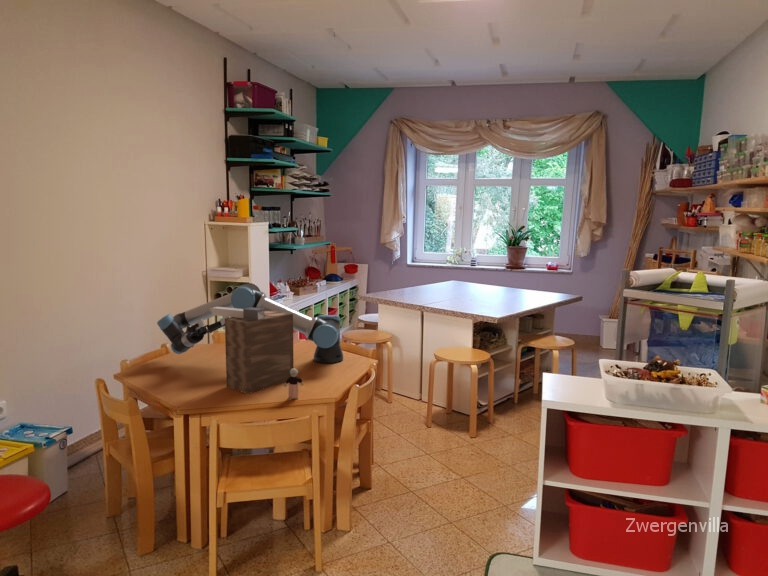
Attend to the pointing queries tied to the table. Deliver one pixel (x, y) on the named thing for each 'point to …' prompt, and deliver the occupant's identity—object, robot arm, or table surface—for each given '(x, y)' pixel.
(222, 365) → the table surface
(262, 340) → the walnut shelf
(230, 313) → the bar
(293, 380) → the grandmother figurine
